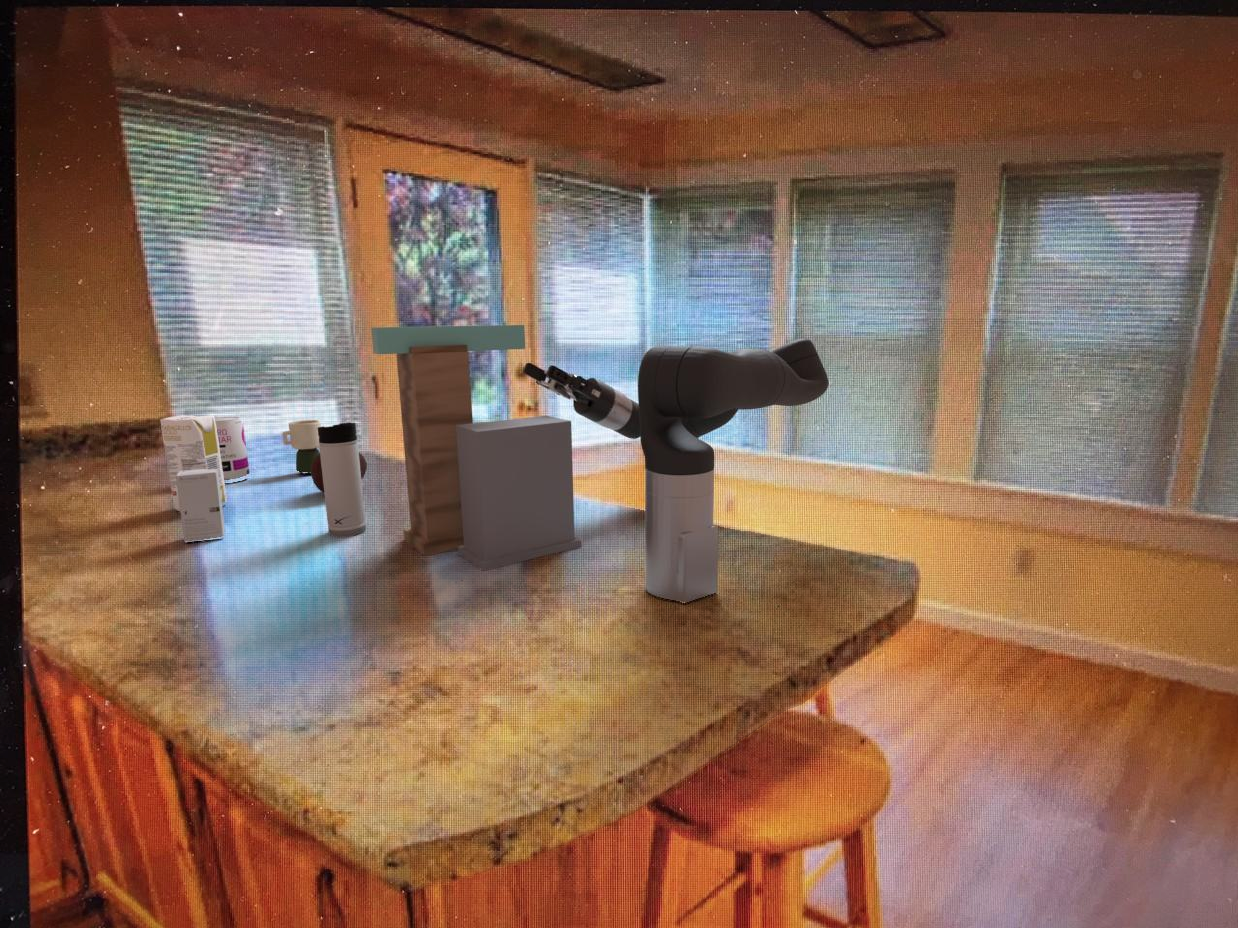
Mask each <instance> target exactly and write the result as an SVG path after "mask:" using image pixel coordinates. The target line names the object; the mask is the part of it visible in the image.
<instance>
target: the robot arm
mask: <svg viewBox="0 0 1238 928" xmlns="http://www.w3.org/2000/svg"><path fill="white" fill-rule="evenodd" d="M522 373H523V374H524V375H526V376H528V377H529V378H531V379H534V380H535V384H537V385H538V386H541V387H543V388H544V389H546V390H549V391H551V392H553V393H554V394H556V395H558V396H562V397H563V398H564V399H567V400H572V402H573V409H574V411H575V413H576V414H578V415H580V416H582V417H583V418H585V419H587V420H590V421H591V422H594V423H595V424H598V425H599V426H601V427H603V428H607V429H609V430H611V431H614V432H616V433H618V434H620V435H622V437H623V436H624V437H626V438H628V439H632V440H637V439H640V445H641V450H642V453H643V456H644V486H645V487H644V500H645V501H644V505H645V506H644V508H645V509H644V510H645V511H644V512H645V513H644V515H645V517H644V520H645V521H644V523H645V525H644V526H645V527H644V528H645V531H644V532H645V535H644V536H645V540H644V541H645V542H644V543H645V545H644V547H645V553H644V554H645V590H646V591H647V592H648V593H649V594H650V593H651V594H653V595H655V596H658V597H661V598H666V599H671V600H679V601H681V602H688V601H692V600H695V599H698V598H701V597H704V598H706V597H705V596H707V595H710V596H712V595H711V594H713V595H715V594H714V593H716V594H718V587H719V586H718V585H719V584H718V583H719V582H718V580H719V578H718V577H719V570H718V569H719V526H717V525H714V508H715V507H714V502H715V501H714V494H715V450H714V449H713V447H712V446H711V445H710V444H708V443H707V442H705V441H703V440H702V439H700V438H701V437H703V436H705V435H707V434H710V433H712V432H713V431H715V430H718V429H719V428H722V427H723V426H725V425H727V424H728V423H729V422H730V421H731V420H732V419H733V418H734V417H735V415H736V414H737V413H738V411H739V410H741V411H742V410H745V411H746V410H755V409H756V410H757V409H762V408H767V407H768V408H769V407H772V406H783V407H795V406H802V405H805V404H808V403H811V402H813V401H815V400H817V399H819V398H820V397H821V396H823V395H824V394H825V393H826V391H827V390H828V388H829V384H830V383H829V377H828V374H827V372H826V369H825V366H824V365H823V363H822V360H821V358H820V356H819V353H818V351H817V349H816V346H815V345H814V342H813V341H812V340H811V339H809V338H800V339H795V340H792V341H789V342H787V343H785V344H783V345H781V346H778V347H777V348H775V349H774V350H772V351H769V350H766V349H762V348H743V349H737V350H734V351H732V352H727V351H724V350H721V349H718V348H714V347H710V346H703V345H657V346H656V345H655V346H653V347H650V349H648V350H647V351H646V352H645V354H644V355H643V357H642V359H641V362H640V364H639V371H638V376H637V399H638V400H637V401H638V402H636V401H634V400H632V399H630V398H629V397H627V395H625V394H624V393H622V392H621V391H619V390H618V389H616V388H614V387H613V386H610V385H609V384H607V383H606V382H603V381H601V380H600V379H598V378H596V377H590V378H587V379H586V378H585V377H583V376H582V375H575V374H574V373H568V372H567V371H565V370H563V369H561V368H559V367H558V366H555V365H554V364H553V365H549V367H548V369H547V370H545V369H543V368H541V367H539V366H537V365H535V364H533V363H531V362H526V363H525V365H524V367H523V370H522ZM547 378H548V380H547V382H546V379H547ZM651 594H650V595H651ZM653 595H652V596H653ZM655 596H654V597H655ZM658 597H657V598H658ZM707 597H708V596H707ZM661 598H660V599H661ZM701 599H702V598H701ZM671 600H670V601H671ZM698 600H699V599H698ZM695 601H696V600H695ZM681 602H680V603H681ZM692 602H693V601H692Z"/></svg>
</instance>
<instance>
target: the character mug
mask: <svg viewBox="0 0 1238 928" xmlns="http://www.w3.org/2000/svg"><path fill="white" fill-rule="evenodd" d="M318 427H322V426H321V421H320V420H319V419H318V420H315V419H305V420H304V419H303V420H296V421H295V420H294V421H291V422H288V429H289V430H288V431H283V432H282V442H283V445H285V446H289V445H291V448H292V449H295V450H297V451H296V456H295V460H296V461H295V471H296V470H297V471H299V472H311V466H312V463H313V460H314V459H315V458H316V456H317V455H318V454H319V453H320V450H318V449H319V446H320V445H319V436H318ZM288 436H289V439H290V440H288ZM299 472H298V473H299Z"/></svg>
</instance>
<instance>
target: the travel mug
mask: <svg viewBox="0 0 1238 928" xmlns="http://www.w3.org/2000/svg"><path fill="white" fill-rule="evenodd" d="M356 425H357V424H356V422H342V423H339V424H333V425H331V426H321V427H318V436H319V445H320V446H319V447H318V449H319V452H320V457H321V466H322V475H323V484H324V493H323V494H324V500H325V502H324V503H325V509H326V519H327V525H328V527H327V529H328V534H329V535H330V536H332V537H336V536H337V537H339V538H345V537H351V536H352V537H353V536H356V535H357V536H358V535H359V534H360V535H361V534H362V533H364V532H365V531H366V529H367V525H366V516H365V515H366V514H365V503H364V493H363V484H362V483H363V482H362V480H361V471H360V461H359V453H360V452H359V444H358V437H357V426H356Z"/></svg>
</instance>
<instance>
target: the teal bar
mask: <svg viewBox="0 0 1238 928" xmlns="http://www.w3.org/2000/svg"><path fill="white" fill-rule="evenodd" d="M525 328H526V327H525V324H495V325H493V324H488V325H487V324H485V325H483V324H482V325H480V324H479V325H437V326H435V325H433V326H432V325H431V326H427V325H426V326H384V327H383V326H380V327H379V326H378V327H374V326H373V327H370V329H371V330H370V331H371V341H372V353H373V354H375V355H396V354H403V353H410V351H409V347H421V346H449V345H467V348H468V352H475V351H476V352H478V351H480V352H481V351H505V350H507V351H508V350H526V334H525V333H526V332H525V331H526V329H525Z"/></svg>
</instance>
